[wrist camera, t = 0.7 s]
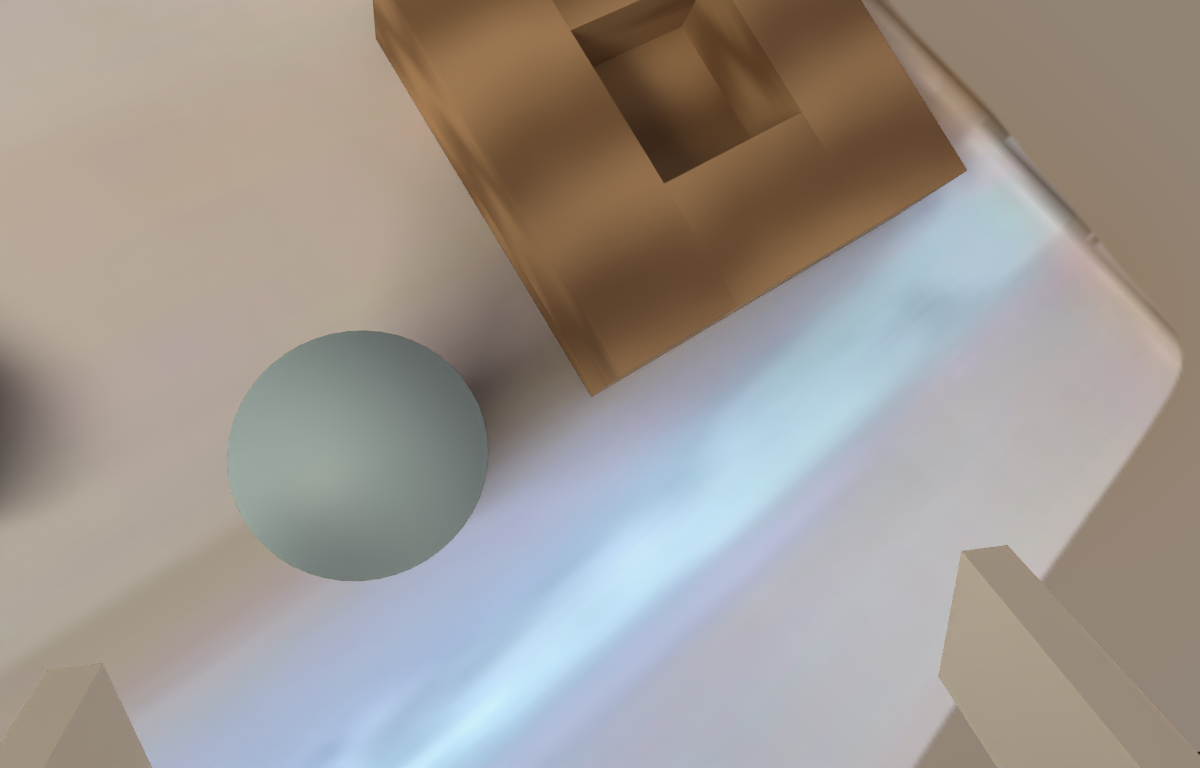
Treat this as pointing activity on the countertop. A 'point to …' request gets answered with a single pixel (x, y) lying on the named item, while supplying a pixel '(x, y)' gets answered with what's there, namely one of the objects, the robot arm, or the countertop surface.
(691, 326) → the socket block
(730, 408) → the countertop surface
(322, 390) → the peg
